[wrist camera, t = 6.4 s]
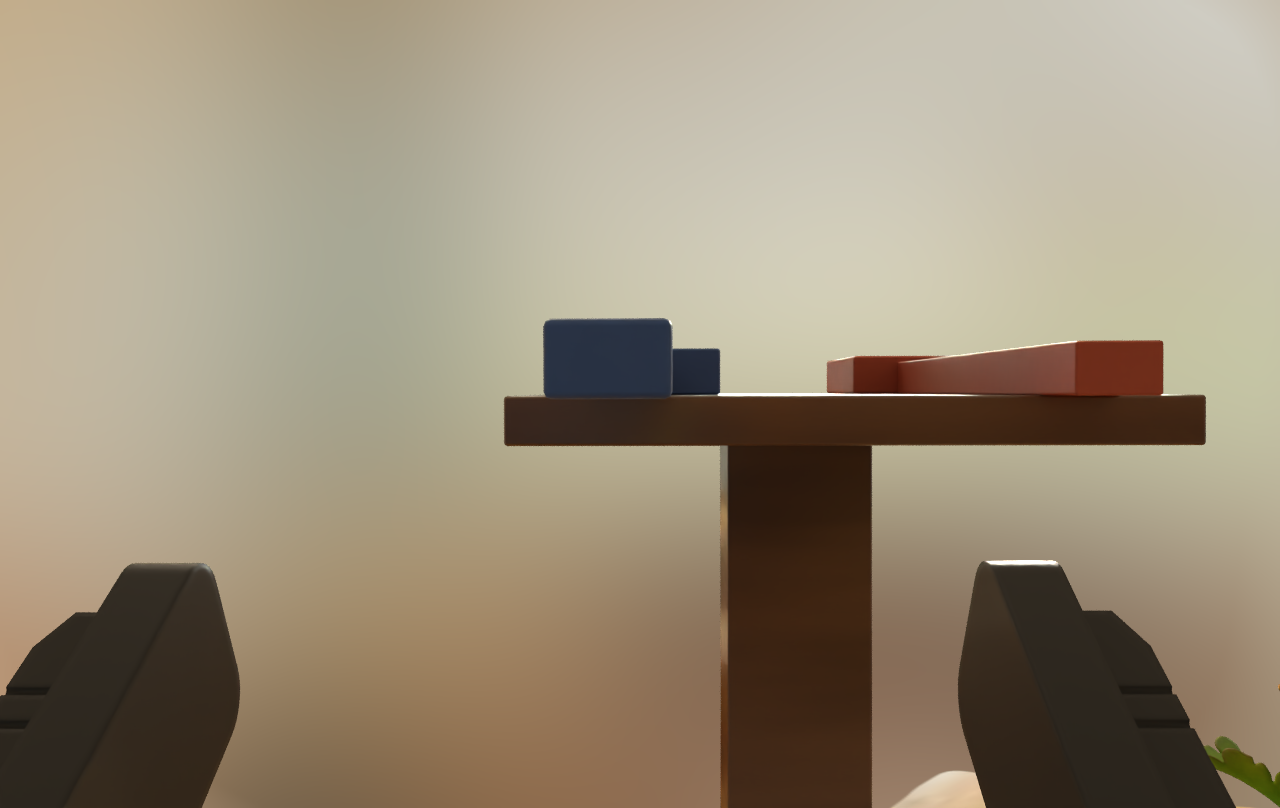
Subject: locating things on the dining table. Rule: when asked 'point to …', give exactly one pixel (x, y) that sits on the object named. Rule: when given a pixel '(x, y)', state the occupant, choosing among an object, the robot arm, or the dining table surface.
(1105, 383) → the red spatula
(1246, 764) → the potted flower
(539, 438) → the shelf stand
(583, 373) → the blue paddle stick
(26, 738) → the robot arm
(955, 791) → the dining table surface
